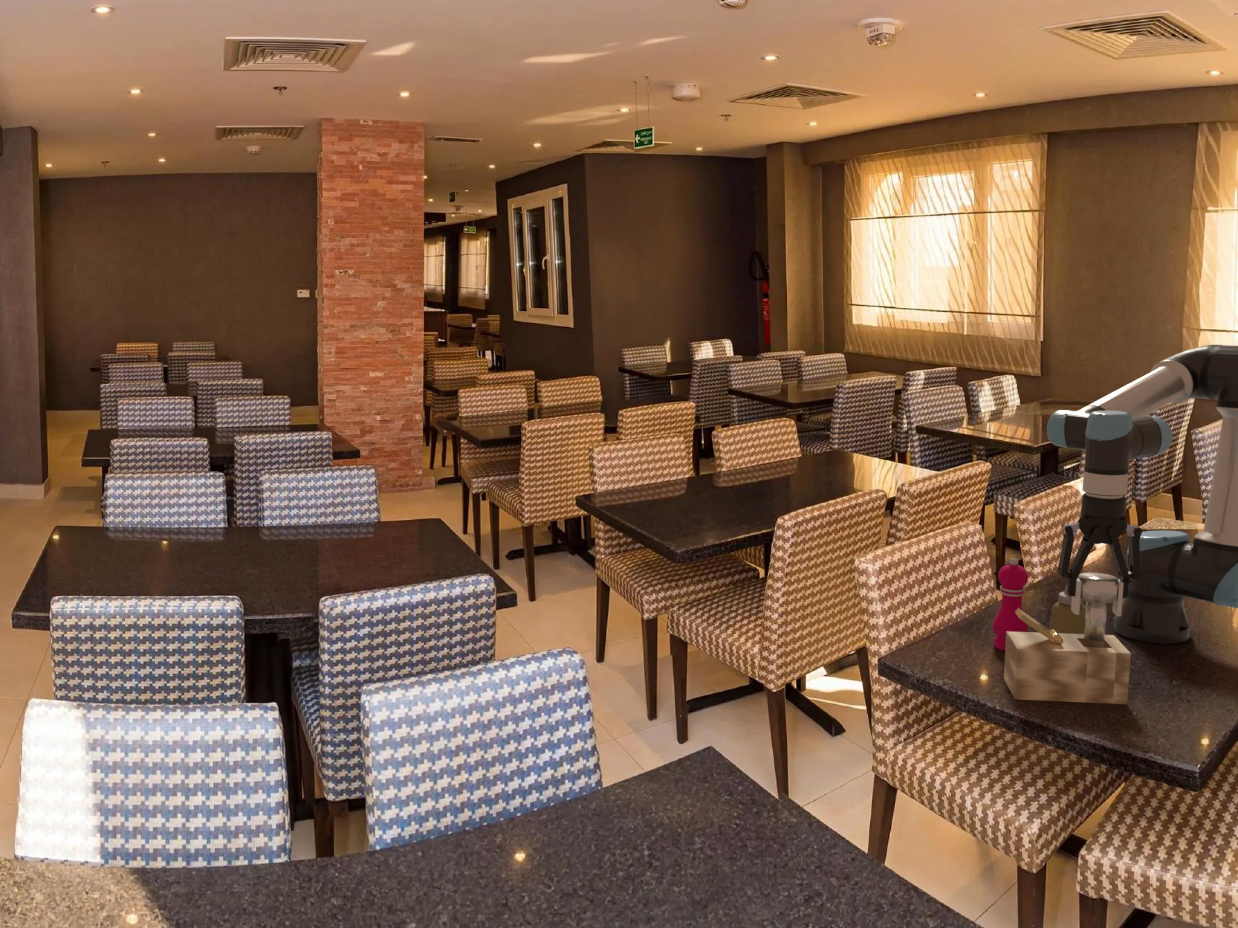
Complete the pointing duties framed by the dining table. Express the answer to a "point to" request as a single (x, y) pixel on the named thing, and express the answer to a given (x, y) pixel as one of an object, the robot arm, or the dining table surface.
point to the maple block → (1066, 668)
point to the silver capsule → (1097, 602)
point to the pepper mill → (1010, 602)
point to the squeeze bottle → (1067, 616)
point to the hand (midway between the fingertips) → (1095, 612)
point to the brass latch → (1040, 627)
